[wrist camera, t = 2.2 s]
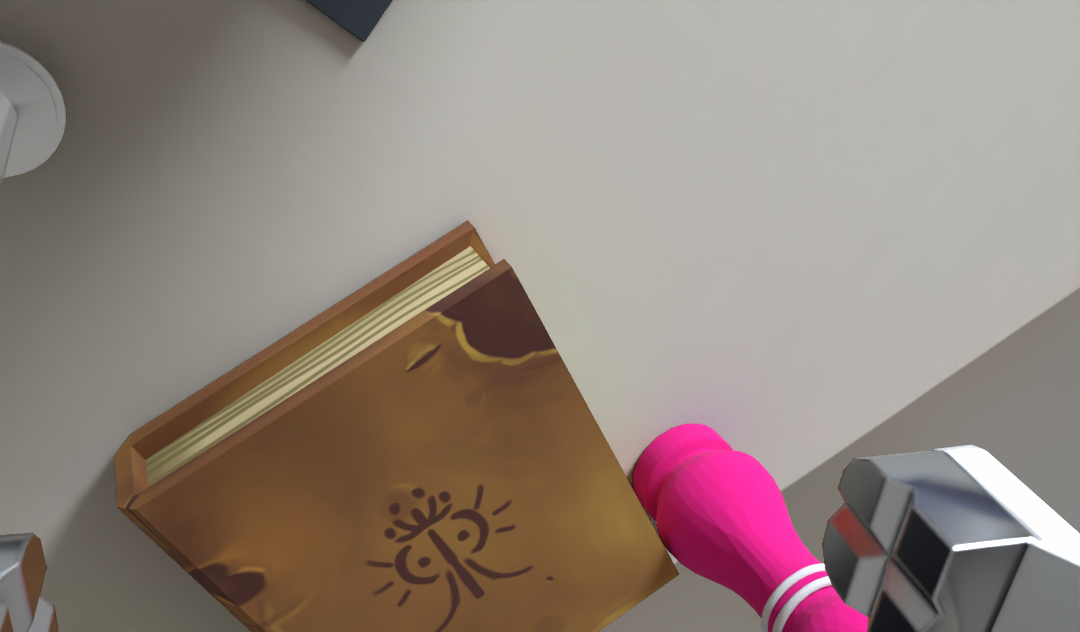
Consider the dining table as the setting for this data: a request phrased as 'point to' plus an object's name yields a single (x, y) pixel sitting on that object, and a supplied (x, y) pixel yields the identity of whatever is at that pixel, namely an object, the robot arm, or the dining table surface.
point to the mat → (354, 14)
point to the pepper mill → (737, 530)
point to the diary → (400, 470)
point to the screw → (27, 112)
